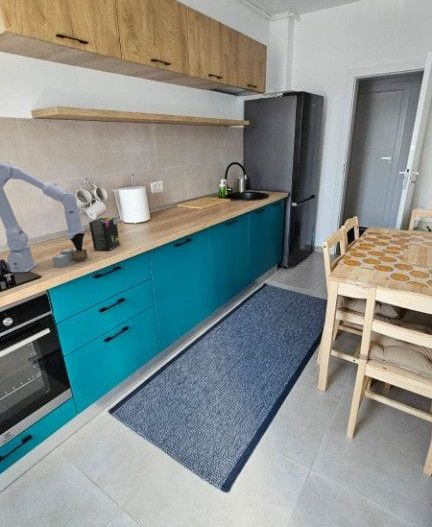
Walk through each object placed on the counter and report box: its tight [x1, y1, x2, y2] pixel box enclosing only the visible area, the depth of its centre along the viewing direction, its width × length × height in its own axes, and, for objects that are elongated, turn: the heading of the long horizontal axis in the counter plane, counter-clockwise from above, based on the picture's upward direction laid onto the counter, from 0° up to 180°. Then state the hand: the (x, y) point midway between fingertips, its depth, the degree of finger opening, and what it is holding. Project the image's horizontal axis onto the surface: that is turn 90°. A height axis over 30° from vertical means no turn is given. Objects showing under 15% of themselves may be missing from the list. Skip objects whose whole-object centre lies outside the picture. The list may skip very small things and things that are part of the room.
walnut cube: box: [73, 248, 89, 263], centre depth 143 cm, size 4×4×4 cm
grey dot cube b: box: [51, 253, 71, 269], centre depth 137 cm, size 4×4×5 cm
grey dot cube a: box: [59, 248, 75, 262], centre depth 145 cm, size 4×4×5 cm
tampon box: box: [88, 217, 120, 252], centre depth 158 cm, size 11×9×15 cm
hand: (79, 249), depth 142 cm, fingers closed
